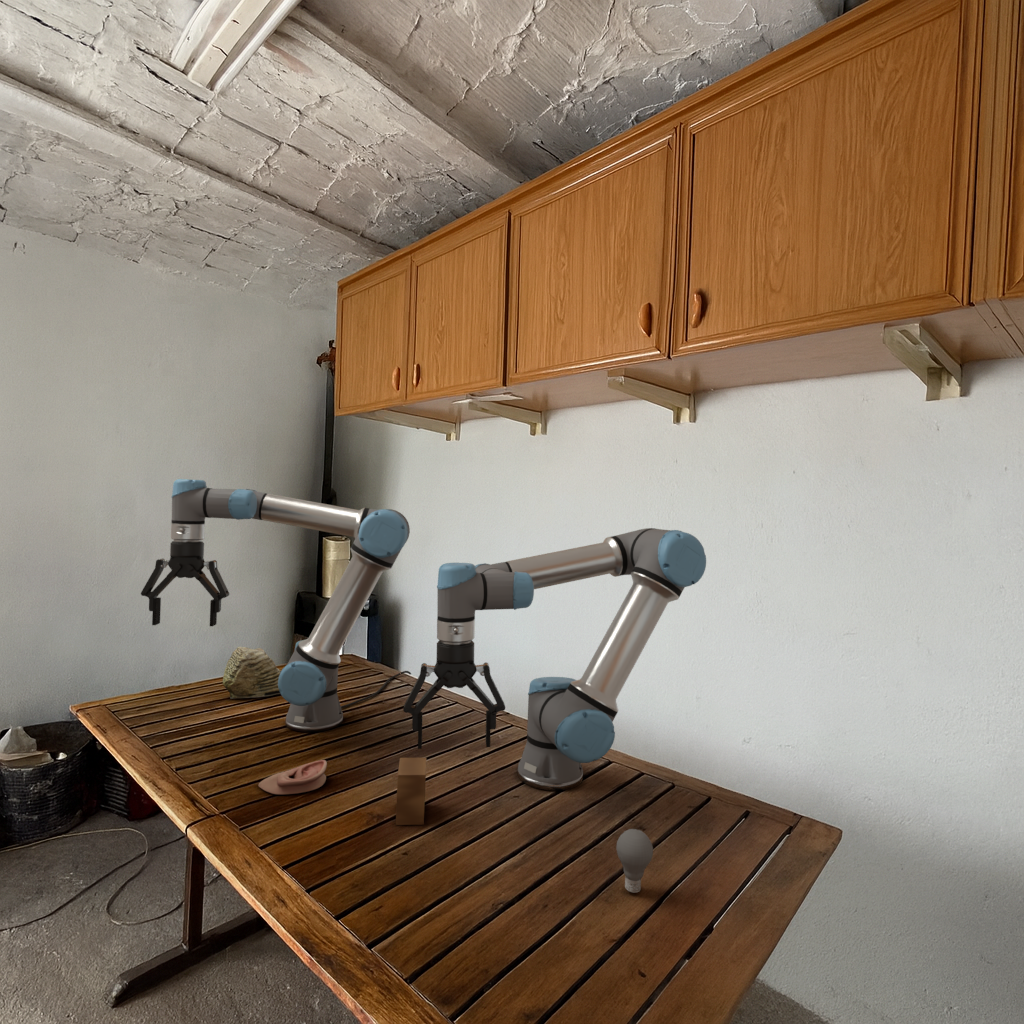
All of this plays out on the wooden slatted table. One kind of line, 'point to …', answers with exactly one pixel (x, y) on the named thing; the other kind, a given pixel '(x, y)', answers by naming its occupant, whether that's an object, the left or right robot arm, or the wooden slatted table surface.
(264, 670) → the fossil
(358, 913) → the wooden slatted table surface
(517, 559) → the right robot arm
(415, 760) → the brick
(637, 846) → the light bulb
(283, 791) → the anatomical model
